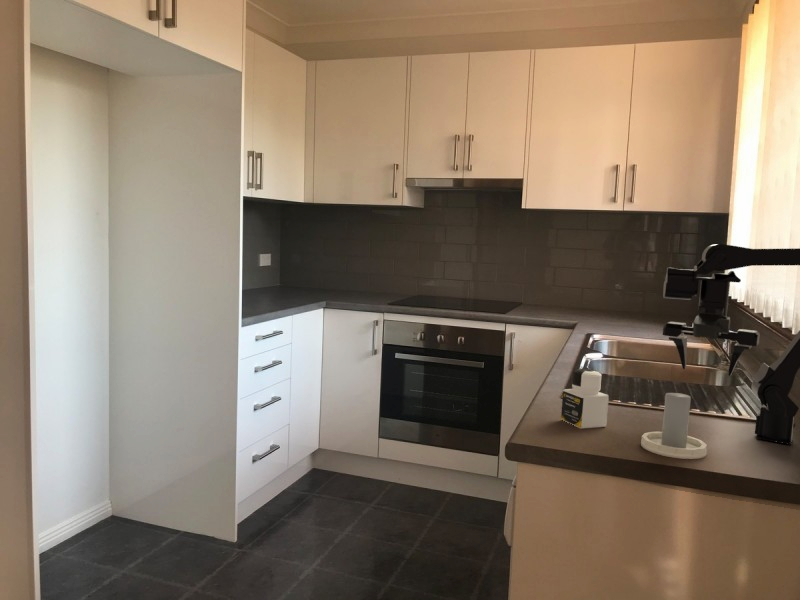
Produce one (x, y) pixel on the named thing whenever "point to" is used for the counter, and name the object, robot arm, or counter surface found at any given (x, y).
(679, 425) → the grey cylinder
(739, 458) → the counter surface
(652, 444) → the saucer
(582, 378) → the medicine bottle
